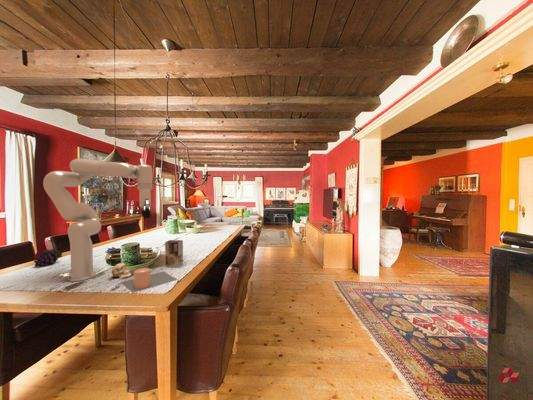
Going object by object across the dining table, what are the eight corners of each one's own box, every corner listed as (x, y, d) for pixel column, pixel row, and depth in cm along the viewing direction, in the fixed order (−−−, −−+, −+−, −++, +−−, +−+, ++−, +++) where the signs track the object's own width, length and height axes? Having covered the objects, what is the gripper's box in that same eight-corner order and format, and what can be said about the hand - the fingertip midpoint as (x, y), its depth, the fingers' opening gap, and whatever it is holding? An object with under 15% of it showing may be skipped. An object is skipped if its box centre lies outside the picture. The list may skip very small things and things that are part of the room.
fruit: (33, 272, 141) (54, 259, 155) (49, 270, 140) (69, 257, 155) (25, 258, 138) (47, 246, 152) (41, 255, 137) (62, 243, 152)
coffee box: (183, 264, 149) (183, 240, 148) (178, 267, 142) (178, 242, 142) (170, 263, 150) (170, 239, 149) (165, 267, 143) (164, 241, 143)
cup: (137, 290, 109) (137, 273, 108) (132, 286, 113) (132, 270, 113) (152, 285, 114) (152, 270, 113) (147, 282, 118) (146, 266, 118)
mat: (132, 294, 106) (132, 292, 106) (120, 283, 118) (120, 282, 118) (177, 280, 122) (177, 279, 122) (163, 272, 134) (163, 271, 134)
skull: (140, 271, 132) (130, 262, 125) (129, 288, 125) (118, 280, 118) (123, 269, 135) (113, 260, 128) (111, 285, 128) (100, 277, 121)
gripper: (136, 187, 132) (137, 216, 133) (138, 186, 118) (140, 219, 119) (150, 187, 136) (151, 215, 137) (154, 186, 122) (155, 218, 123)
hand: (146, 217), depth 128 cm, fingers open, 9 cm apart
